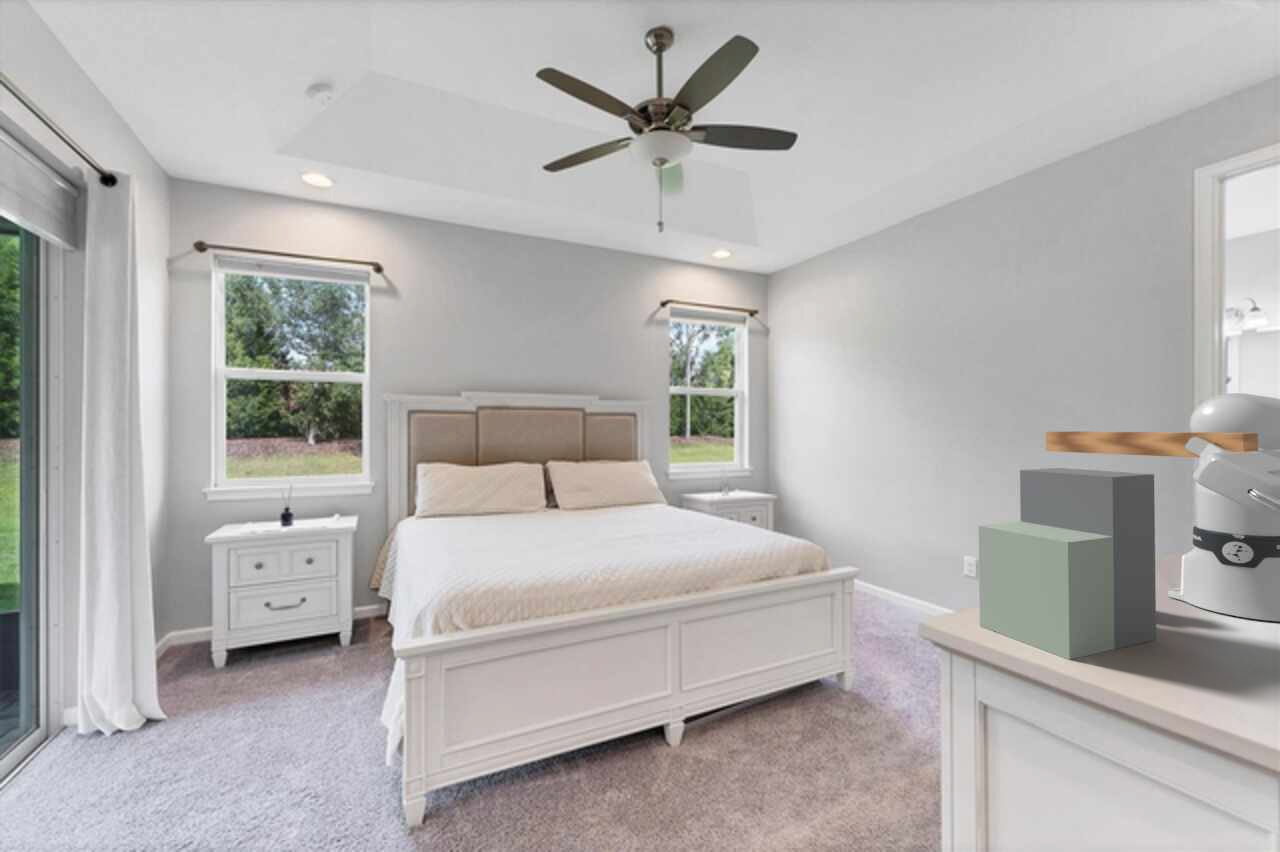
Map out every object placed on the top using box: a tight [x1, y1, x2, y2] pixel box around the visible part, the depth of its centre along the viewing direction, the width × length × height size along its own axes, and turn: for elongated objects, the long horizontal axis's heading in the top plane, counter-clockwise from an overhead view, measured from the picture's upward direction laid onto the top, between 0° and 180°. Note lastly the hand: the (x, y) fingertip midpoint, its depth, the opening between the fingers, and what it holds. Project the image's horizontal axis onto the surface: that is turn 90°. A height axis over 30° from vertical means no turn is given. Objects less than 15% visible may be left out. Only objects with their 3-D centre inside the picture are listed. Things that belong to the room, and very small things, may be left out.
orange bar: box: [1045, 430, 1258, 458], centre depth 73 cm, size 22×3×3 cm, turn 19°
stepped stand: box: [978, 467, 1157, 660], centre depth 88 cm, size 14×20×26 cm
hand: (1202, 441), depth 67 cm, fingers closed on orange bar, 3 cm apart
